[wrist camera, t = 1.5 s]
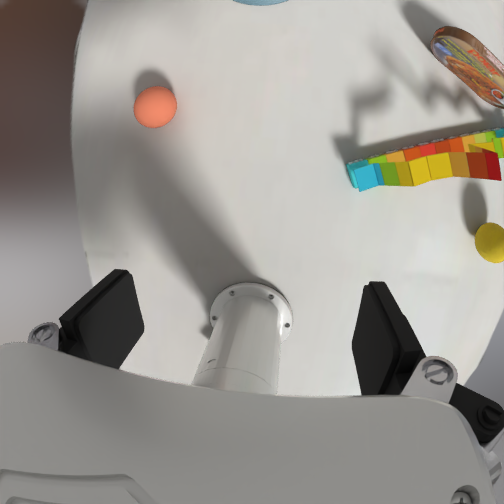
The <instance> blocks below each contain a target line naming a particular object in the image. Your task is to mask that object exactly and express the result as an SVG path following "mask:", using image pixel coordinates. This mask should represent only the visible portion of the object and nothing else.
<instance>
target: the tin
mask: <svg viewBox="0 0 504 504" xmlns="http://www.w3.org/2000/svg"><path fill="white" fill-rule="evenodd" d="M430 46H431V50H432V52H433V54H434V56H435V57H436V58H437V59H438V60H439V61H440V62H441V63H442V64H443V65H444V66H445V67H447V68H448V69H449V70H450V71H452V72H453V73H454V74H455V75H456V76H458V77H459V78H460V79H461V80H462V81H463V82H464V83H466V84H467V85H468V86H469V87H470V88H471V89H472V90H473V91H474V92H475V93H476V94H477V95H478V96H479V97H481V98H482V99H483V100H485V101H486V102H488V103H489V104H491V105H493V106H496V107H498V108H501V109H504V65H503V64H502V63H501V62H500V61H499V60H498V59H497V58H496V57H495V56H494V55H493V54H492V53H491V52H490V51H489V50H488V49H487V48H486V47H485V46H484V45H483V44H482V43H481V42H480V41H479V40H478V39H476V38H475V37H474V36H473V35H471V34H470V33H468V32H466V31H464V30H462V29H459V28H456V27H451V26H445V27H442V28H439V29H438V30H437V31H436V32H435V34H434V37H433V39H432V41H431V44H430Z"/></svg>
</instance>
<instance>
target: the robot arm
mask: <svg viewBox="0 0 504 504" xmlns="http://www.w3.org/2000/svg"><path fill="white" fill-rule="evenodd" d="M233 291H234V292H233ZM270 294H272V295H270ZM59 320H60V323H61V325H62V327H61V328H60V329H59V327H58V325H56V324H55V323H52V322H47V323H43V324H40V325H39V326H37V327H35V328H34V329H33V330H32V331H31V332H30V334H29V337H28V343H26V342H13V343H12V342H11V343H6V344H3V345H1V346H0V504H504V410H503V409H502V407H501V406H500V405H499V404H498V403H496V402H494V401H492V400H490V399H488V398H486V397H484V396H482V395H480V394H478V393H476V392H474V391H472V390H470V389H468V388H466V387H464V386H462V385H460V384H458V383H456V382H457V377H458V373H457V370H456V368H455V366H454V365H453V364H452V363H451V362H450V361H448V360H446V359H445V358H442V357H439V356H429V357H426V355H425V353H424V351H423V349H422V347H421V345H420V343H419V341H418V339H417V337H416V335H415V333H414V331H413V329H412V328H411V326H410V324H409V322H408V320H407V318H406V317H405V315H403V314H402V312H401V310H400V308H399V306H398V304H397V303H396V301H395V299H394V297H393V296H392V294H391V292H390V290H389V289H388V287H387V285H386V283H385V282H374V281H370V282H369V284H368V285H365V286H364V288H363V294H362V299H361V304H360V309H359V313H358V318H357V322H356V327H355V331H354V335H353V339H352V351H353V356H354V360H355V365H356V370H357V374H358V379H359V384H360V389H361V394H362V396H297V395H277V388H278V376H279V363H280V349H281V344H282V343H283V342H284V341H285V340H286V339H287V338H288V336H289V335H290V332H291V330H292V325H293V315H292V310H291V308H290V305H289V304H288V302H287V301H286V299H285V298H284V297H283V296H282V295H281V294H280V293H278V292H277V291H275V290H274V289H272V288H270V287H268V286H265V285H262V284H258V283H249V282H248V283H239V284H235V285H232V286H230V287H228V288H226V289H224V290H223V291H222V292H220V293H219V295H218V296H217V297H216V298H215V300H214V302H213V304H212V307H211V310H210V321H211V324H212V327H213V332H212V334H211V337H210V339H209V342H208V344H207V347H206V349H205V352H204V354H203V357H202V359H201V362H200V364H199V367H198V369H197V372H196V374H195V377H194V379H193V382H192V384H191V385H188V384H183V383H177V382H172V381H167V380H162V379H157V378H152V377H148V376H143V375H139V374H135V373H131V372H127V371H123V370H119V368H120V366H121V365H122V363H123V362H124V360H125V359H126V357H127V356H128V354H129V353H130V351H131V350H132V349H133V347H134V346H135V344H136V343H137V341H138V340H139V338H140V337H141V336H142V334H143V332H144V322H143V319H142V315H141V311H140V307H139V303H138V299H137V294H136V290H135V285H134V281H133V277H132V275H131V274H130V273H129V272H128V271H127V270H121V269H115V270H113V271H112V272H111V273H110V274H108V275H107V276H106V277H105V278H104V279H102V280H101V281H100V282H99V283H98V284H97V285H95V286H94V287H93V288H92V289H91V290H90V291H89V292H88V293H86V294H85V295H84V296H83V297H82V298H81V299H80V300H79V301H77V302H76V303H75V304H74V305H73V306H72V307H71V308H70V309H69V310H67V311H66V312H65V313H64V314H63V315H62V316H61V317H60V318H59Z"/></svg>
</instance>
